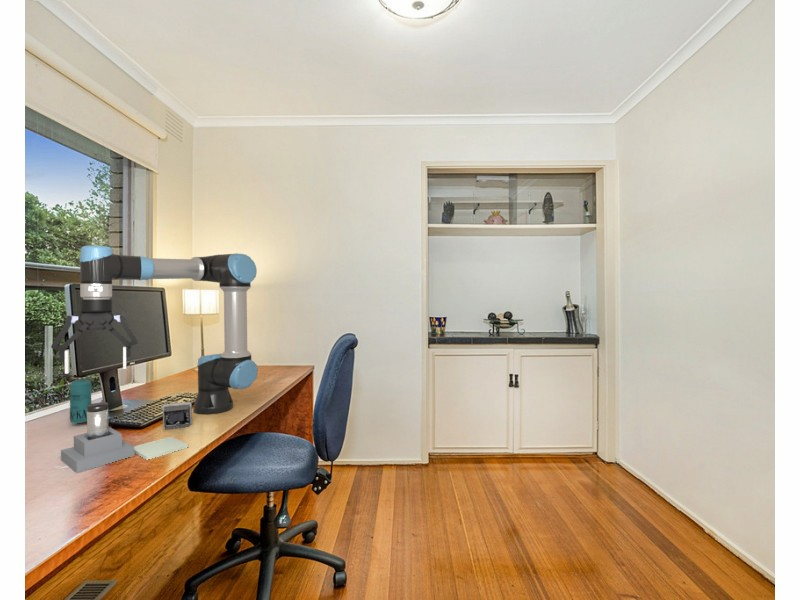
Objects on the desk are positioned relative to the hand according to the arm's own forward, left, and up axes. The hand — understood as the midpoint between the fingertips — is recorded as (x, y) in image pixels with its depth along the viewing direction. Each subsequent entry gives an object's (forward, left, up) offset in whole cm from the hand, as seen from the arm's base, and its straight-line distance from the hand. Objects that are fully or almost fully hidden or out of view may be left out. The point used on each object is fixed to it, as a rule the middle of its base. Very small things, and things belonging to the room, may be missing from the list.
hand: (96, 370), depth 119 cm
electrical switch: (-27, -9, -26) cm, 39 cm away
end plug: (0, 0, -23) cm, 23 cm away
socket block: (0, 0, -26) cm, 26 cm away
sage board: (-14, +7, -26) cm, 31 cm away
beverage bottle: (-7, -41, -26) cm, 49 cm away
